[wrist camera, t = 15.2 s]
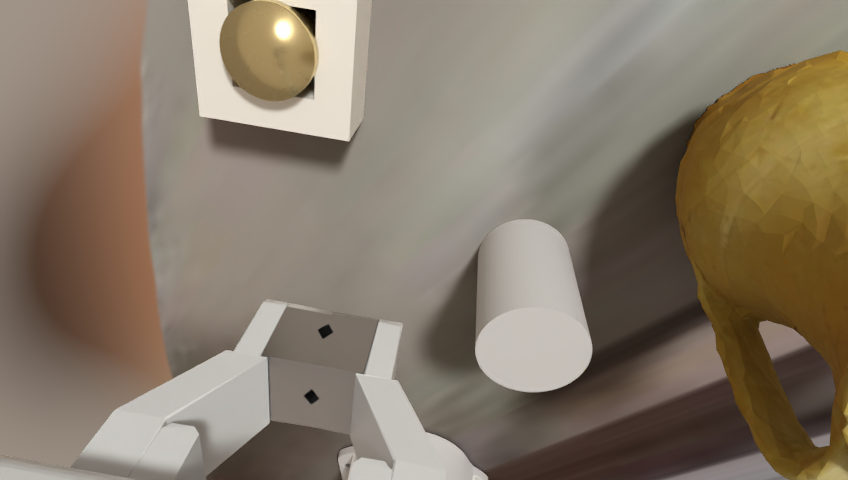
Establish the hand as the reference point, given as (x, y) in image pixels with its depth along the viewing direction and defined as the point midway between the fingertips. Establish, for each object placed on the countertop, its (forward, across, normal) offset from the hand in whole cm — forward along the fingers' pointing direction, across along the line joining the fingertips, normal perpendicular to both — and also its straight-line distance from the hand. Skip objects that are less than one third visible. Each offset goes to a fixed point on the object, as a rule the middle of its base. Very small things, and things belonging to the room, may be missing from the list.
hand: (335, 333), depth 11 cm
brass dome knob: (+31, +11, +1) cm, 32 cm away
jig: (+31, +11, +1) cm, 33 cm away
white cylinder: (+31, -10, +17) cm, 37 cm away
